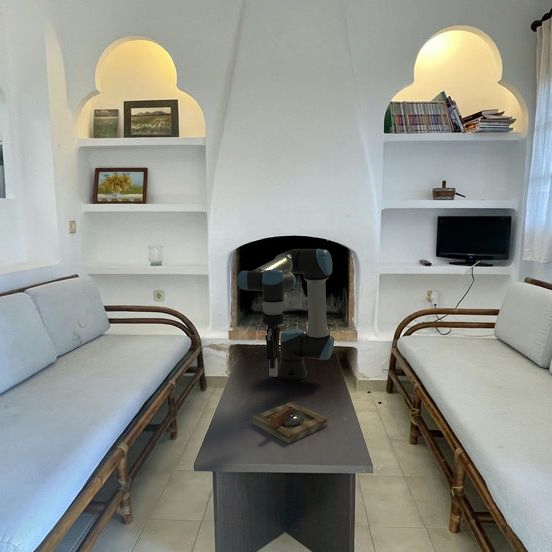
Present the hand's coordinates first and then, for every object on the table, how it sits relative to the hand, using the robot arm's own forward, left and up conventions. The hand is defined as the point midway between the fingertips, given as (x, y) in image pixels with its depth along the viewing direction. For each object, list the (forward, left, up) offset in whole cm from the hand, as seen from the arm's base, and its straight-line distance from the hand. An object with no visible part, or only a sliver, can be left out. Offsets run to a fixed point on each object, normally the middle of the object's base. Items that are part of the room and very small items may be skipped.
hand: (273, 375), depth 152 cm
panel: (-6, +2, -20) cm, 21 cm away
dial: (-4, +3, -18) cm, 19 cm away
